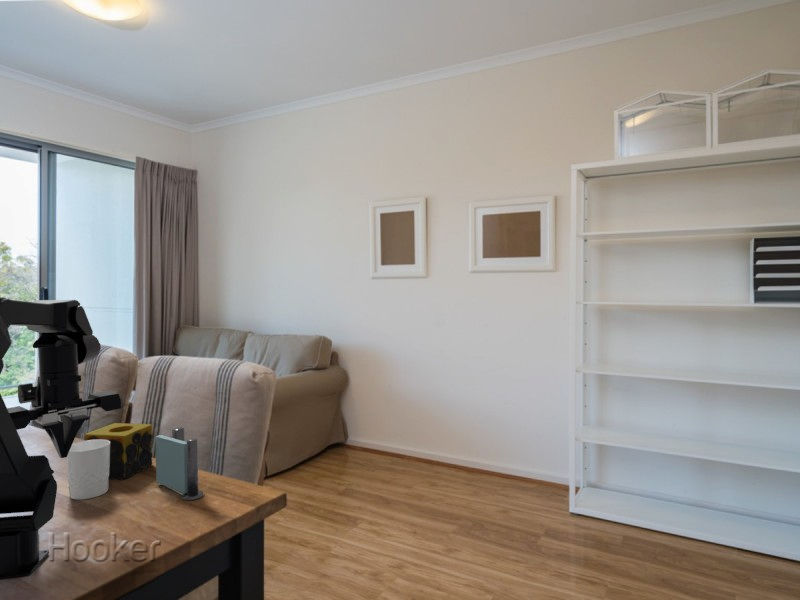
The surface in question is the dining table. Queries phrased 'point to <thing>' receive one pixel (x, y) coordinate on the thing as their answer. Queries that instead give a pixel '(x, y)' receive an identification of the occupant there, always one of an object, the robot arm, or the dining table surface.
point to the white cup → (88, 468)
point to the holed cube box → (126, 447)
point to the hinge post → (192, 472)
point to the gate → (171, 463)
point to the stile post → (178, 433)
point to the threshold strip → (178, 491)
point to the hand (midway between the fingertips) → (63, 457)
